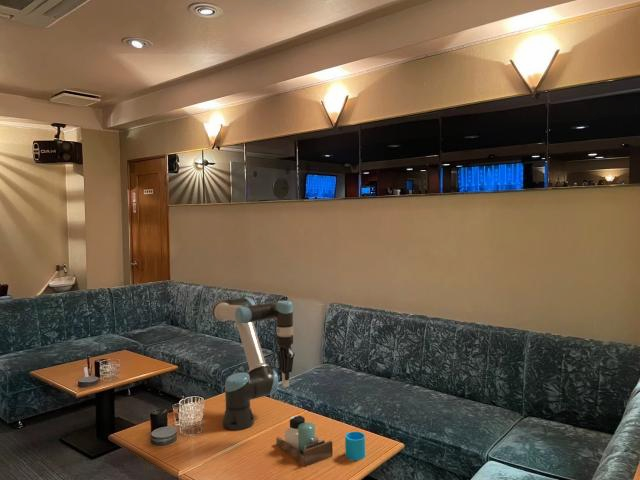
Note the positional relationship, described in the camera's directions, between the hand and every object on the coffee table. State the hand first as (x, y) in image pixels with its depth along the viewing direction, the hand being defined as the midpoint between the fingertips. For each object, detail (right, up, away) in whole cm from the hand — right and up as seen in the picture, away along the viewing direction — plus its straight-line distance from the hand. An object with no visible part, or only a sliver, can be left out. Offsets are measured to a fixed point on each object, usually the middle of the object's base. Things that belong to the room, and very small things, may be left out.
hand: (285, 386), depth 209 cm
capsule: (+10, -22, -19) cm, 31 cm away
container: (+6, -23, -12) cm, 26 cm away
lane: (+8, -22, -15) cm, 28 cm away
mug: (+31, -22, -19) cm, 42 cm away
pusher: (+14, -22, -22) cm, 34 cm away
